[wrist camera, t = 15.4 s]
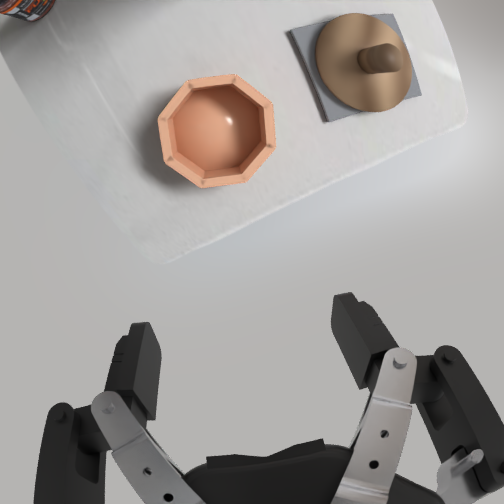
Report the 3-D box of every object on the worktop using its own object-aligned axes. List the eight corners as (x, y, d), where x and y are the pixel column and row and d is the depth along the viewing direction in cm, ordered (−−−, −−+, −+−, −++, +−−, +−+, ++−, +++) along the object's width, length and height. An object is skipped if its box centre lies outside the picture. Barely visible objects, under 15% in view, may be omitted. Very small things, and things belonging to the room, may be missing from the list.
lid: (402, 25, 25) (428, 19, 20) (408, 115, 32) (436, 120, 27) (309, 9, 24) (327, -6, 19) (318, 110, 31) (338, 112, 26)
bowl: (262, 76, 29) (270, 71, 25) (270, 169, 35) (278, 179, 31) (162, 89, 28) (153, 86, 24) (175, 181, 34) (169, 193, 30)
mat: (389, 14, 25) (392, 13, 24) (418, 94, 31) (421, 95, 31) (289, 31, 26) (291, 29, 26) (327, 121, 33) (329, 122, 32)
